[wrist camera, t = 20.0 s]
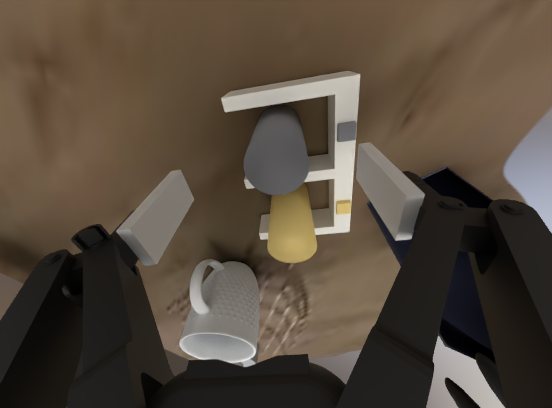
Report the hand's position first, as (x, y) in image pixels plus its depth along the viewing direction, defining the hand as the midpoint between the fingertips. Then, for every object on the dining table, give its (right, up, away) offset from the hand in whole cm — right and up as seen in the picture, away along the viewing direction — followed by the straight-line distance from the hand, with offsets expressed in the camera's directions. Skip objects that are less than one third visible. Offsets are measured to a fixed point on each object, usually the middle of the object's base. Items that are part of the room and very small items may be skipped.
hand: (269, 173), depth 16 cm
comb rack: (+4, +3, +11) cm, 12 cm away
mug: (-8, -14, +24) cm, 29 cm away
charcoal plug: (+1, +6, +8) cm, 11 cm away
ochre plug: (+2, -1, +13) cm, 14 cm away
